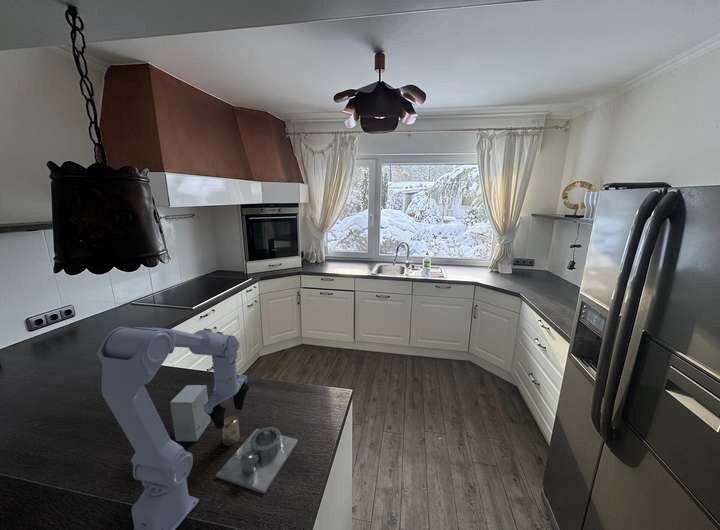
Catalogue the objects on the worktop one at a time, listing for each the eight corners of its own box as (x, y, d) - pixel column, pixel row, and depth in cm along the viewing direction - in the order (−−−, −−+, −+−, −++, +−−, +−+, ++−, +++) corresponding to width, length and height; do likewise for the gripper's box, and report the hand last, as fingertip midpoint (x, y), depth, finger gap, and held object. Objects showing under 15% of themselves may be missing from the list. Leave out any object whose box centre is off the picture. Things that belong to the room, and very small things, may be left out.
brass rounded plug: (232, 447, 81) (230, 428, 79) (219, 443, 82) (217, 425, 81) (242, 435, 85) (241, 417, 84) (230, 431, 86) (229, 414, 85)
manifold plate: (264, 493, 68) (263, 477, 67) (216, 477, 72) (214, 461, 71) (297, 442, 83) (297, 427, 82) (256, 430, 87) (255, 416, 86)
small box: (191, 421, 90) (186, 384, 88) (211, 421, 90) (207, 384, 88) (174, 441, 82) (169, 402, 80) (196, 442, 82) (191, 402, 80)
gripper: (232, 359, 87) (235, 399, 90) (192, 388, 74) (197, 433, 76) (251, 363, 85) (254, 403, 88) (214, 393, 72) (219, 439, 74)
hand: (229, 417), depth 82 cm, fingers open, 7 cm apart
